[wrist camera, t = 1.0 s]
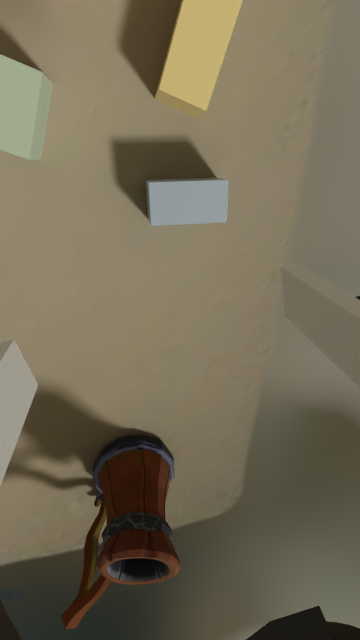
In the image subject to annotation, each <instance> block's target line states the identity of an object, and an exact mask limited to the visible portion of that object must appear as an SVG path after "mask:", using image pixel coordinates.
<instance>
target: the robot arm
mask: <svg viewBox="0 0 360 640" xmlns="http://www.w3.org/2000/svg"><path fill="white" fill-rule="evenodd" d="M281 272H282V284H283V297H284V309H285V317H286V318H287V319H288V320H289V321H290V322H291V323H292V324H293V325H294V326H295V327H297V328H298V329H299V330H300V331H301V332H302V333H303V334H304V335H305V336H306V337H307V338H308V339H309V340H310V341H311V342H312V343H313V344H315V345H316V346H317V347H318V348H319V349H320V350H321V351H322V352H323V353H324V354H325V355H326V356H327V357H328V358H329V359H330V360H331V361H332V362H333V363H335V364H336V365H337V366H338V367H339V368H340V369H341V370H342V371H343V372H344V373H345V374H346V375H347V376H348V377H349V378H350V379H352V380H353V381H354V382H355V383H356V384H357V385H358V386H359V387H360V296H357V297H354V296H352V295H350V294H348V293H347V292H345V291H343V290H341V289H340V288H338V287H336V286H335V285H333V284H331V283H329V282H328V281H326V280H324V279H323V278H321V277H319V276H317V275H316V274H314V273H312V272H310V271H309V270H307V269H305V268H304V267H302V266H300V265H298V264H297V263H295V264H292V265H288V266H284V267H281ZM37 387H38V384H37V382H36V380H35V378H34V376H33V375H32V373H31V371H30V369H29V367H28V365H27V363H26V361H25V360H24V358H23V356H22V354H21V352H20V350H19V348H18V346H17V345H16V343H15V341H14V340H10V341H7V342H3V343H0V486H1V483H2V480H3V478H4V475H5V472H6V470H7V467H8V464H9V462H10V459H11V456H12V454H13V451H14V448H15V446H16V443H17V440H18V438H19V435H20V432H21V430H22V427H23V424H24V422H25V419H26V416H27V414H28V411H29V408H30V406H31V403H32V400H33V398H34V395H35V392H36V390H37ZM0 640H22V639H21V638H20V636H19V634H18V632H17V630H16V628H15V626H14V625H13V623H12V621H11V619H10V617H9V615H8V614H7V612H6V610H5V608H4V606H3V604H2V602H1V601H0ZM246 640H360V628H357V627H354V626H351V625H347V624H342V623H337V622H326V620H325V618H324V616H323V613H322V611H321V609H320V607H319V606H317V607H314V608H310V609H307V610H304V611H301V612H298V613H295V614H292V615H289V616H286V617H282V618H279V619H276V620H273V621H270V622H269V623H267V624H266V625H265V626H263V627H262V628H261V629H260V630H258V631H257V632H256V633H254V634H253V635H252V636H250V637H249V638H248V639H246Z"/></svg>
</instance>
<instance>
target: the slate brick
mask: <svg viewBox="0 0 360 640" xmlns="http://www.w3.org/2000/svg"><path fill="white" fill-rule="evenodd" d="M146 194H147V210H148V220H149V222H150V225H151V226H159V225H179V224H199V223H219V222H227V205H228V180H227V179H221V178H194V179H163V180H146Z"/></svg>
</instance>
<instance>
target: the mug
mask: <svg viewBox="0 0 360 640" xmlns="http://www.w3.org/2000/svg"><path fill="white" fill-rule="evenodd" d="M93 475H94V480H95V485H96V489H97V490H99V491H98V493H97V497H96V500H95V503H94V505H95V506H96V507H98V506H99V505H100V504H101V507H100V511H99V514H98V516H97V517H96V519H95V521H94V523H93V524H92V526H91V528H90V530H89V532H88V534H87V537H86V542H85V546H84V567H83V574H82V579H81V584H80V588H79V592H78V595H77V597H76V599H75V600H74V602H73V603H72V605H71V606H70V607H69V608H68V609H67V610H66V611H65V612H64V613H63V614H62V616H61V619H62V621H63V624H64V627H65V629H73V628H76V626H77V625H78V623H79V621H80V620H81V618H82V616H83V615H84V614H85V613H86V611H87V610H88V609H89V608H90V607H91V606H92V605H93V604H94V603H95V602H96V601H97V600H98V599H99V598H100V596H101V595H102V594H103V592H104V591H105V589H106V588H107V586H108V585H109V583H110V581H112V582H116V583H121V584H127V585H129V584H150V583H157V582H163V581H164V580H168V579H170V578H171V577H173V576H174V575H176V574H177V573H178V572H179V568H180V561H179V559H178V556H177V554H176V552H175V550H174V547H173V544H172V530H171V528H170V526H169V525H168V523H167V522H166V521H165V502H166V497H167V492H168V488H169V484H170V482H171V481H172V479H173V478H174V459H173V456H172V454H171V453H170V451H169V450H168V449H167V447H166V446H165V445H164V443H163V442H162V441H160V440H156V439H152V438H148V437H145V436H135V437H124V438H120V439H118V440H117V441H115V442H114V443H112V444H111V445H109V446H107V447H106V448H104V450H103V451H102V453H101V454H100V456H99V457H98V459H97V460H96V462H95V463H94V467H93ZM106 517H107V526H106V527H105V529H104V531H103V533H102V538H103V543H102V544H101V545H100V546H99V552H100V555H99V557H98V538H99V534H100V531H101V529H102V526H103V524H104V521H105V519H106ZM97 559H98V560H97ZM96 566H97V567H98V569H99V571H100V573H101V576H100V577H99V578H98V580H97V581H96V582H95V583H94V584H93V585H92V583H93V579H94V575H95V571H96Z"/></svg>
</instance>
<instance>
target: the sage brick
mask: <svg viewBox="0 0 360 640" xmlns="http://www.w3.org/2000/svg"><path fill="white" fill-rule="evenodd" d="M52 90H53V83H52V82H51V81H50V80H49V79H48V78H47V77H46V75H45V74H44V73H43V72H41V71H39V70H36V69H34V68H32V67H29V66H27V65H24V64H22V63H20V62H17V61H15V60H13V59H10V58H8V57H5V56H3V55H1V54H0V150H3V151H5V152H8V153H11V154H14V155H17V156H20V157H23V158H26V159H28V160H41V158H42V151H43V145H44V139H45V133H46V127H47V121H48V115H49V109H50V103H51V97H52Z"/></svg>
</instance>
